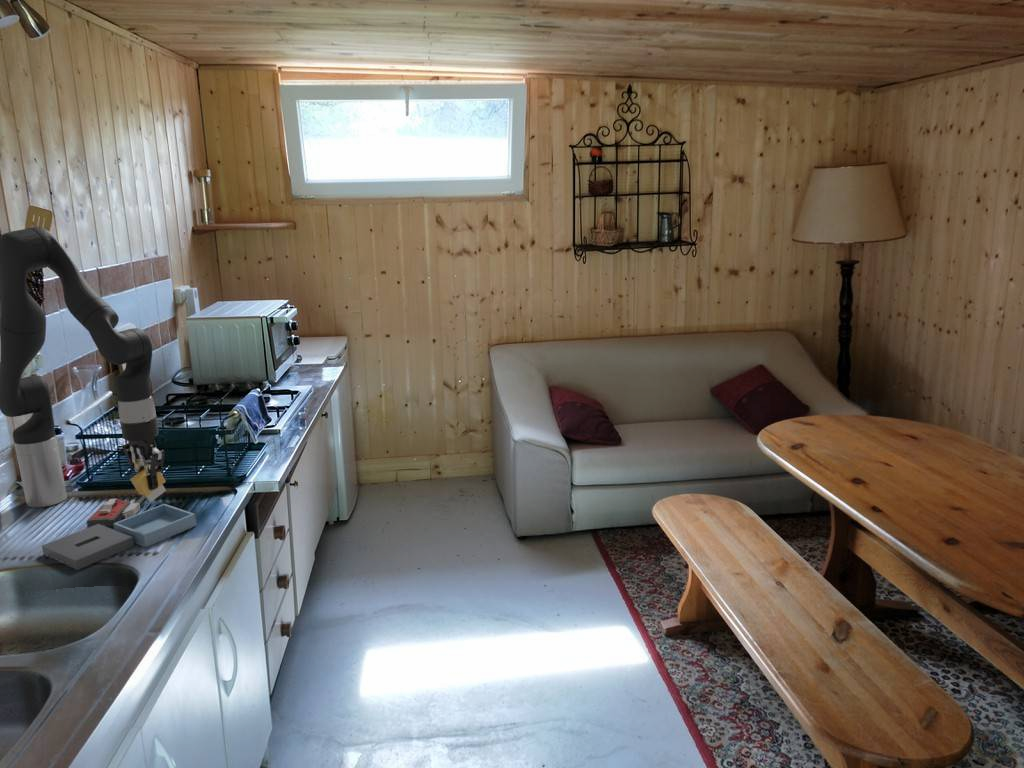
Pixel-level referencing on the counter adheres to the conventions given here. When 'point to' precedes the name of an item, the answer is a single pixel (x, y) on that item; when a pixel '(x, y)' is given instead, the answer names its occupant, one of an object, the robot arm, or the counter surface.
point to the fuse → (142, 485)
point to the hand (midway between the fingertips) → (149, 487)
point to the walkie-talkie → (114, 512)
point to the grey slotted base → (88, 546)
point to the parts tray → (156, 524)
